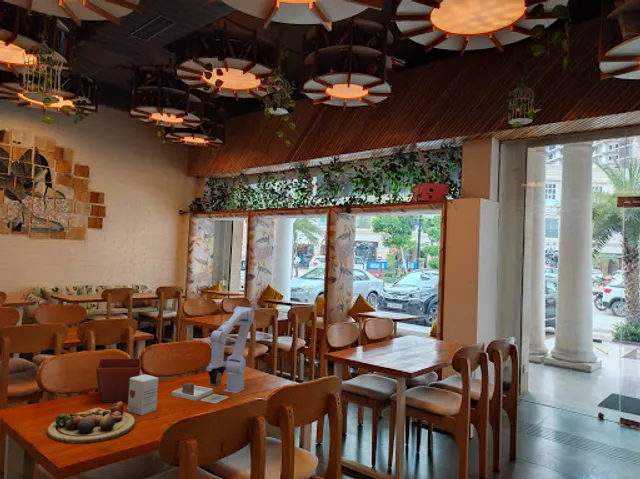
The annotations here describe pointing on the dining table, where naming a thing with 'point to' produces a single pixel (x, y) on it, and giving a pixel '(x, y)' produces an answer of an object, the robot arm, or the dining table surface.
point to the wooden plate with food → (92, 425)
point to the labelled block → (217, 380)
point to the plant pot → (116, 378)
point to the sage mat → (214, 398)
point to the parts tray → (198, 393)
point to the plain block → (188, 388)
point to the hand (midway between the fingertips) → (215, 382)
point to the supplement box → (142, 394)
